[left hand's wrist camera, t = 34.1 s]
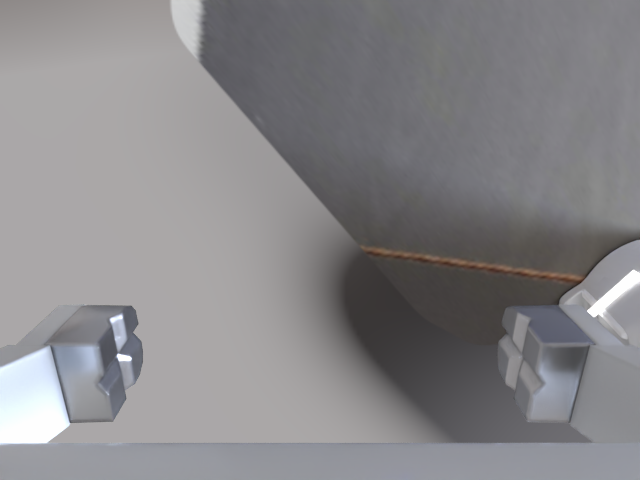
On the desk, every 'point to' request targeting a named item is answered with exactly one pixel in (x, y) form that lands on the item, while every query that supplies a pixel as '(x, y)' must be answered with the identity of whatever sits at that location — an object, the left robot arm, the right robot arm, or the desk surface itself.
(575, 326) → the left robot arm
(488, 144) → the desk surface
